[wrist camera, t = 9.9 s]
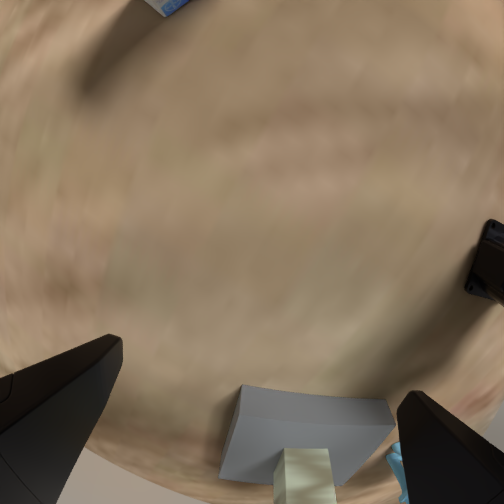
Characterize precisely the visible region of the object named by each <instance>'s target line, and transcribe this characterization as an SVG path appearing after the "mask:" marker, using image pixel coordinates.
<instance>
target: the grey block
mask: <svg viewBox="0 0 504 504" xmlns="http://www.w3.org/2000/svg"><path fill="white" fill-rule="evenodd" d="M395 426H396V423H395V421H394V418H393V416H392V413H391V411H390V409H389V406H388V404H387V401H386V399H362V398H345V397H332V396H321V395H311V394H302V393H294V392H286V391H279V390H272V389H266V388H259V387H253V386H248V385H242V387H241V391H240V394H239V397H238V401H237V404H236V408H235V411H234V414H233V418H232V421H231V424H230V428H229V431H228V434H227V438H226V441H225V444H224V447H223V451H222V454H221V461H220V468H219V475H218V478H220V479H226V480H233V481H240V482H248V483H257V484H268V485H274V474H273V473H274V471H275V468H276V466H277V464H278V462H279V459H280V457H281V454H282V452H283V450H284V448H298V449H328V452H329V458H330V464H331V470H332V476H333V482H334V486H342V485H343V484H344V483H346V482H347V481H348V480H349V478H350V477H351V476H352V475H353V474H354V473H355V472H356V471H357V470H358V469H359V468H360V467H361V466H362V465H363V464H364V463H365V462H366V461H367V459H368V458H369V457H370V456H371V455H372V454H373V453H374V451H375V450H376V449H377V448H378V447H379V446H380V444H381V443H382V442H383V441H384V440H385V438H386V437H387V436H388V435H389V433H390V432H391V431H392V430H393V428H394V427H395Z"/></svg>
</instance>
